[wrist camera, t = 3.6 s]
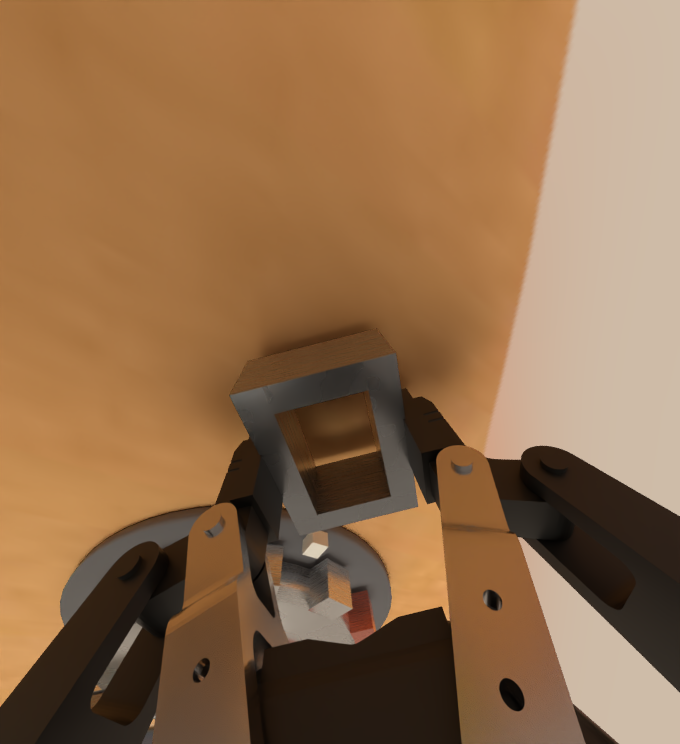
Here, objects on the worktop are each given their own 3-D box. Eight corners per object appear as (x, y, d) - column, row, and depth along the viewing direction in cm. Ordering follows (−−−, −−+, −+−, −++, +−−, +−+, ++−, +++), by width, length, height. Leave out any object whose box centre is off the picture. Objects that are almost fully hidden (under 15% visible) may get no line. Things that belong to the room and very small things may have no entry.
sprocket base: (-18, 555, 15) (-55, 589, 13) (362, 468, 15) (367, 492, 13) (172, 690, 24) (163, 718, 23) (402, 638, 24) (408, 663, 23)
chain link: (247, 361, 10) (229, 395, 8) (376, 328, 10) (395, 352, 8) (301, 485, 13) (300, 535, 11) (399, 461, 13) (418, 506, 11)
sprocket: (-32, 596, 14) (-386, 954, 7) (342, 511, 14) (372, 786, 7) (148, 705, 23) (69, 924, 15) (386, 652, 22) (422, 846, 15)
